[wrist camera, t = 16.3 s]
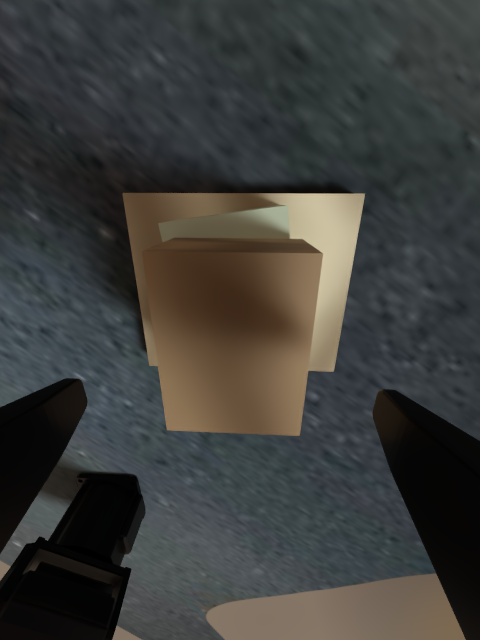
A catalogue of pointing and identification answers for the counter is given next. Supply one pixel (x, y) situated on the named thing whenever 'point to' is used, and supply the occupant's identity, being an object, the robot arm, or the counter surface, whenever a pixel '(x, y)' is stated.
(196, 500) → the counter surface
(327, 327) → the birch board
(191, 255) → the walnut block
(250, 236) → the green block
